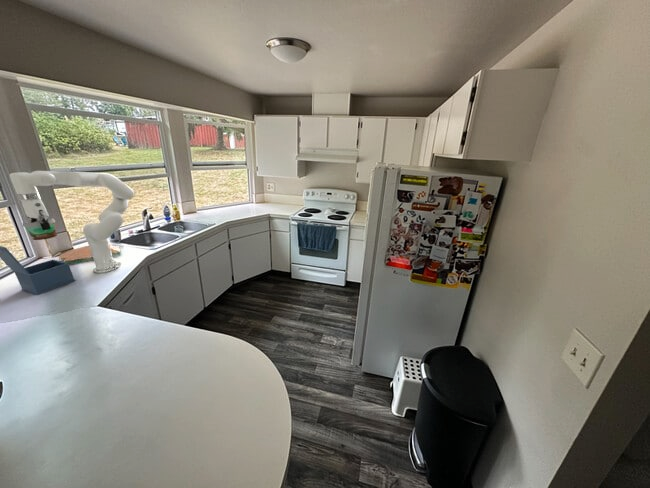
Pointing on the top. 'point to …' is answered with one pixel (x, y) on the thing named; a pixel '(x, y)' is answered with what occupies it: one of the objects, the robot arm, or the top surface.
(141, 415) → the top surface
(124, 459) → the top surface
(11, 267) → the freezer lid
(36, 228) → the food container
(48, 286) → the blue bin
